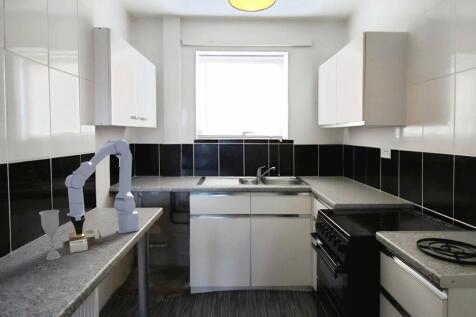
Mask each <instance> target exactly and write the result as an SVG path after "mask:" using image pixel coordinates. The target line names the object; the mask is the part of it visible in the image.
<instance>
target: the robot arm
mask: <svg viewBox="0 0 476 317" xmlns="http://www.w3.org/2000/svg"><path fill="white" fill-rule="evenodd" d="M109 155H115V156H116V157H117V158H118V159H119V175H118V176H119V178H118V181H119V182H118V193H117V194H115V200H114V203H113V207H114V208H113V209H114V210H115V211H116V213H117V216H116V217H117V226H118V227H117V229H116V231H117V233H118V234H125V233H132V232H136V231H137V232H138V231H140V222H139V213H138V211H137V210H135V209H136V202H135V196H134V195H133V193H132V192H131V190H132V168H133V167H132V166H133V165H132V164H133V163H132V162H133V154H132V152H131V150H130V144H129V143H128V142H127V141H126V140H125V139H123V138H121V139H109V140H107V141H106V142H105V143H103V145H102V147H101V148H100V149H99V150H98V151H97V152H96V153H95V155H93V157H91V159H90V160H89V161H84V162H81V163H80V166H79V167H78V168H77V169H76V170H74V171H72V174H70V175H68V176H67V177H65V178H66V179H65V181H64V185H65V186H66V188H67V193H68V194H67V196H68V203H69V205H68V206H69V212H68V213H66V216H67V217H68V216H69V217H70V222H71V223H72V225H73V226H74V232H76V234H77V235H81V234H82V231H84V230H83V228H84V223H85V221H86V218H85V214H86V211H85V204H84V203H85V201H84V192H83V190H84V189H83V187H84V186H85V183H86V180H88V179H89V177H91V175H92V174H93V173H94V172H95V171H96V166H98V165H99V164H100V163H101V162H103V160H105V159H106V157H107V156H109Z"/></svg>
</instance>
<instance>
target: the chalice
mask: <svg viewBox="0 0 476 317" xmlns="http://www.w3.org/2000/svg"><path fill="white" fill-rule="evenodd" d="M38 213H39V216H40V221H41V228H42V229H43V232H44V233H45V234H46V236H49V238H50V240H49V242H50V245H49V246H50V248H51V249H50V251H49V252H48V253H47V255H46V259H45V260H47V261H53V260H57V259H60V258H62V257H61V256H62V255H61V254H60V253H59V251H58V250H56V249H55V246H56V244H55V242H54V241H55V239H54V236H55V235H56V233H57V231H58V229H59V225H60V219H59V213H60V210H59V209H51V210H50V209H48V210H43V211H40V212H38Z"/></svg>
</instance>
